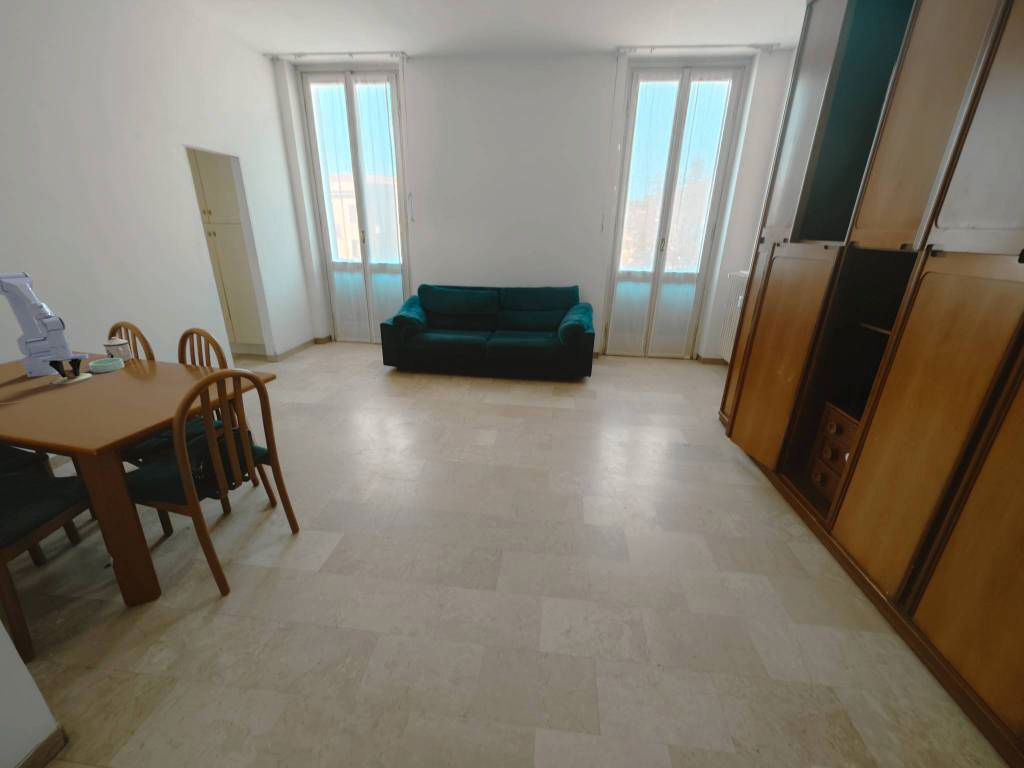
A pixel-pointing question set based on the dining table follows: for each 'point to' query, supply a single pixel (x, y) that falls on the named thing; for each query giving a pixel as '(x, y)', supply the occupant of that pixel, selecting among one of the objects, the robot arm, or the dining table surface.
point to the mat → (72, 383)
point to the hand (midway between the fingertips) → (71, 376)
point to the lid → (71, 378)
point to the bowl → (106, 365)
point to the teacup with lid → (118, 349)
